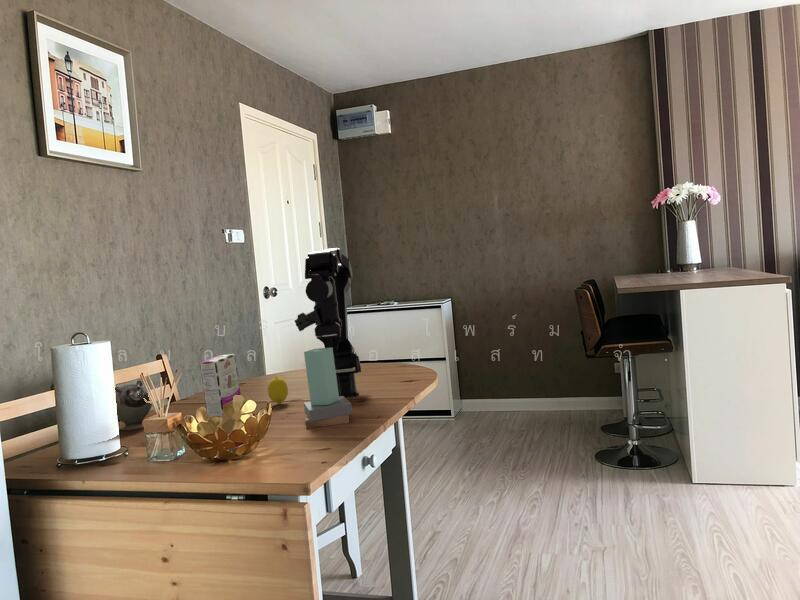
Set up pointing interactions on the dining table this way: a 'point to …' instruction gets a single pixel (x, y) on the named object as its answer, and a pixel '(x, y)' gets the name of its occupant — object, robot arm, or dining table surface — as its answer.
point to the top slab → (328, 409)
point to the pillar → (321, 376)
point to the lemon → (277, 390)
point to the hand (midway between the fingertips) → (332, 359)
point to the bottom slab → (327, 421)
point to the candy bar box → (219, 382)
